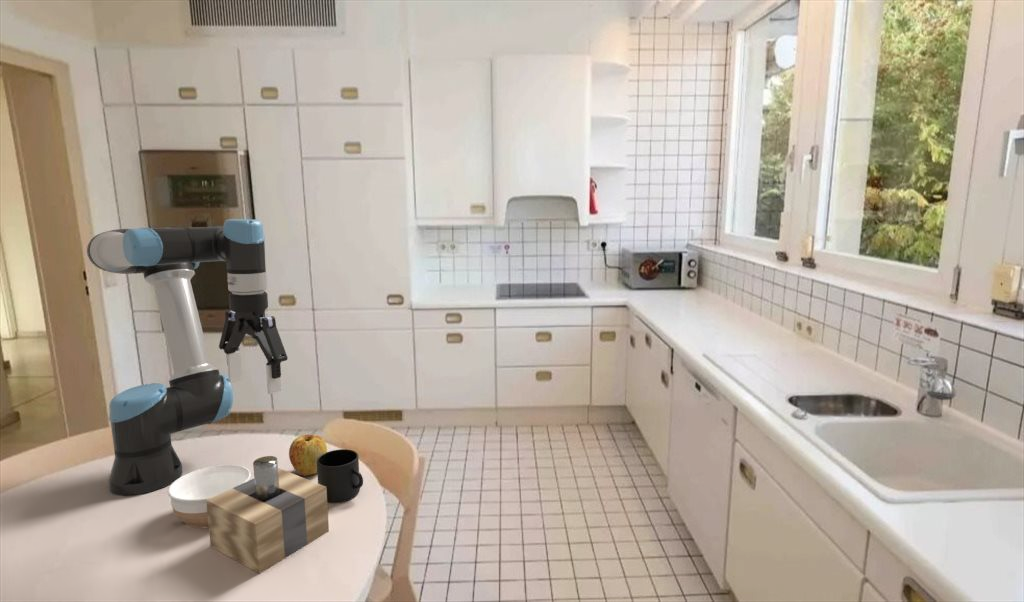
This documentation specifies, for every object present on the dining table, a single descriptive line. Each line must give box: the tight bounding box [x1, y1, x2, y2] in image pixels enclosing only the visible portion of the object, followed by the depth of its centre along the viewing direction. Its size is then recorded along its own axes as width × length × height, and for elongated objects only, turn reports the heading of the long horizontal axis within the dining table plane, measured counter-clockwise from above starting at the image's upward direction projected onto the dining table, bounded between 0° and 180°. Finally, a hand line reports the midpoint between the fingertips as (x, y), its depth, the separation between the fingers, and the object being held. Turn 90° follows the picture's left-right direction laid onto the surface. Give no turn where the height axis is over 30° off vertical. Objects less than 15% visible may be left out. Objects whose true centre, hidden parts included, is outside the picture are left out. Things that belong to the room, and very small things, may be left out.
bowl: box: [167, 464, 252, 529], centre depth 119 cm, size 16×16×8 cm
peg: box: [252, 455, 280, 502], centre depth 109 cm, size 4×4×9 cm
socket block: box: [206, 467, 330, 574], centre depth 110 cm, size 16×16×10 cm
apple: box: [288, 434, 328, 477], centre depth 138 cm, size 9×9×10 cm
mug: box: [316, 448, 364, 504], centre depth 128 cm, size 9×12×9 cm
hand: (254, 386), depth 120 cm, fingers open, 13 cm apart
